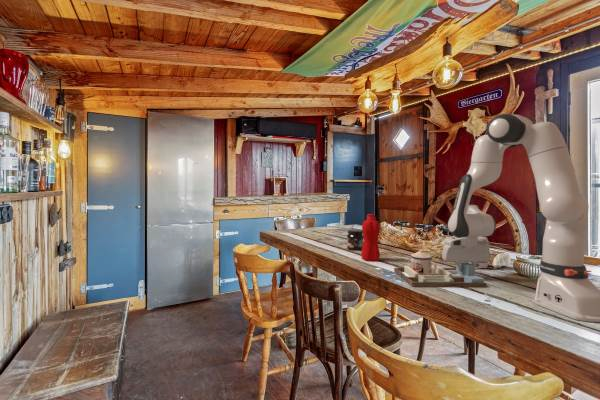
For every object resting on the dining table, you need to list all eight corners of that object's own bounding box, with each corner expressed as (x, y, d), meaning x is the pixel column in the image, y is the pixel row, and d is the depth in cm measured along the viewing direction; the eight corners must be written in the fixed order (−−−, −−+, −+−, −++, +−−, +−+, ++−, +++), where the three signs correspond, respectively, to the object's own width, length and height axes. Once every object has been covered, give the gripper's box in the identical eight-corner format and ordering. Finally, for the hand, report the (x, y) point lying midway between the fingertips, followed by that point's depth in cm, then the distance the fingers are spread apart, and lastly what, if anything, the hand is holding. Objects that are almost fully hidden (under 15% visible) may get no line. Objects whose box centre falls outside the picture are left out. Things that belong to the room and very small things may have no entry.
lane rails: (486, 287, 127) (486, 283, 127) (411, 286, 127) (412, 282, 127) (457, 271, 150) (457, 268, 150) (394, 271, 150) (394, 267, 150)
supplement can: (490, 269, 154) (491, 239, 154) (471, 268, 156) (472, 238, 155) (484, 265, 162) (485, 236, 162) (466, 264, 164) (467, 235, 163)
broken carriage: (485, 286, 128) (485, 279, 128) (423, 285, 128) (423, 279, 128) (477, 282, 134) (477, 275, 133) (418, 281, 133) (418, 275, 133)
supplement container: (343, 248, 205) (343, 229, 205) (357, 247, 210) (357, 229, 209) (352, 251, 196) (353, 232, 195) (366, 250, 200) (367, 231, 200)
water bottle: (384, 261, 169) (384, 214, 168) (363, 261, 169) (364, 214, 168) (379, 257, 178) (380, 213, 177) (360, 257, 179) (361, 213, 178)
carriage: (476, 280, 135) (477, 266, 135) (414, 280, 135) (415, 266, 135) (460, 272, 149) (461, 259, 149) (404, 271, 149) (404, 259, 149)
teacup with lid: (406, 274, 144) (406, 249, 144) (418, 271, 149) (419, 247, 149) (429, 281, 134) (430, 253, 134) (442, 277, 139) (442, 251, 139)
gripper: (485, 239, 145) (484, 269, 145) (440, 239, 144) (440, 269, 145) (493, 241, 138) (492, 273, 139) (447, 241, 138) (446, 273, 139)
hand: (465, 271), depth 142 cm, fingers open, 3 cm apart
